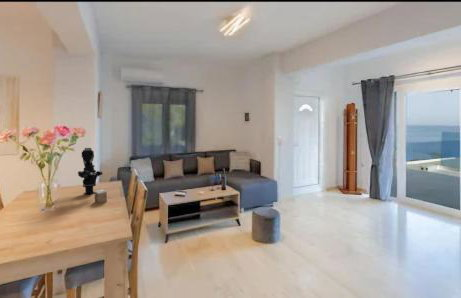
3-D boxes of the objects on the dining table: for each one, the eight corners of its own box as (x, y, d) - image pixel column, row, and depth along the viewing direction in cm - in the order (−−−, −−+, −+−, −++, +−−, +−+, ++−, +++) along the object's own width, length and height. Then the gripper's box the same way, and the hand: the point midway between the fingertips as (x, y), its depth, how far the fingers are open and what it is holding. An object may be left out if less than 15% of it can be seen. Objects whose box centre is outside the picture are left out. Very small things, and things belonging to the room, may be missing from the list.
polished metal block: (94, 201, 192) (94, 191, 191) (103, 200, 197) (102, 189, 196) (98, 203, 188) (98, 192, 187) (107, 201, 193) (106, 191, 192)
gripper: (88, 169, 211) (93, 187, 208) (70, 169, 193) (76, 188, 190) (100, 164, 210) (105, 182, 207) (83, 163, 191) (89, 183, 189)
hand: (94, 184), depth 198 cm, fingers closed
